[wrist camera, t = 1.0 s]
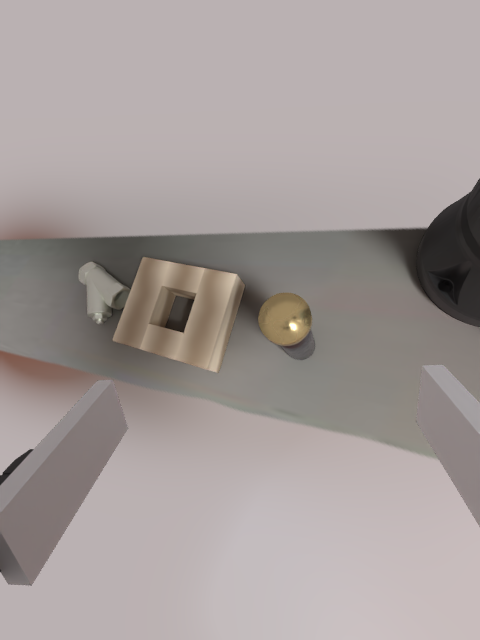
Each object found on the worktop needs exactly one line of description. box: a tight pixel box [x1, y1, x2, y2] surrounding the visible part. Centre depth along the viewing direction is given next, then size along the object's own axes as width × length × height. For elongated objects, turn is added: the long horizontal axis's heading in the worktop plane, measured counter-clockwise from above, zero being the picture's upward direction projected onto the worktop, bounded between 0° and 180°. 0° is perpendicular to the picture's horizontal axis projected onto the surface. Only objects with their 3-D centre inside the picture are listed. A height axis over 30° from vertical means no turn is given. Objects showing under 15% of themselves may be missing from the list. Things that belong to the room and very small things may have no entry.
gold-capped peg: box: [258, 293, 315, 360], centre depth 32 cm, size 4×4×13 cm
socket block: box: [112, 257, 245, 373], centre depth 42 cm, size 14×12×4 cm
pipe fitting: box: [79, 261, 131, 324], centre depth 47 cm, size 8×4×7 cm
